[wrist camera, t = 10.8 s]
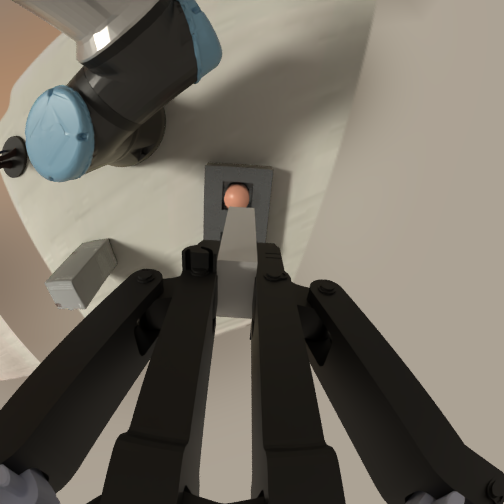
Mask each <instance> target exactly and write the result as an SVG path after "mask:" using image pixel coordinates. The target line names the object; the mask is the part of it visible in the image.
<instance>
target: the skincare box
mask: <svg viewBox="0 0 504 504" xmlns="http://www.w3.org/2000/svg"><path fill="white" fill-rule="evenodd" d="M116 265H117V262H116V259H115V256H114V254H113V251H112V248H111V245H110V242H109V239H102V240H95V241H90V242H86V243H82V244H81V245H80V246H79V247H78V248H77V249H76V250H75V251H74V252H73V253H72V254H71V255H70V256H69V257H68V258H67V259H66V260H65V261H64V262H63V263H62V264H61V265H60V267H59V268H58V269H57V270H56V271H55V272H54V273H53V274H52V275H51V276H50V277H49V279H48V280H47V281H46V282H45V285H46V287H47V289H48V291H49V293H50V294H51V297H52V298H53V300H54V302H55V304H56V305H57V307H58V309H69V310H74V309H86V308H87V307H88V305H89V303H90V302H91V300H92V299H93V297H94V296H95V294H96V293H97V291H98V290H99V289H100V287H101V286H102V284H103V283H104V281H105V280H106V279H107V277H108V276H109V274H110V273H111V272H112V270H113V269H114V267H115V266H116Z"/></svg>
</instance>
